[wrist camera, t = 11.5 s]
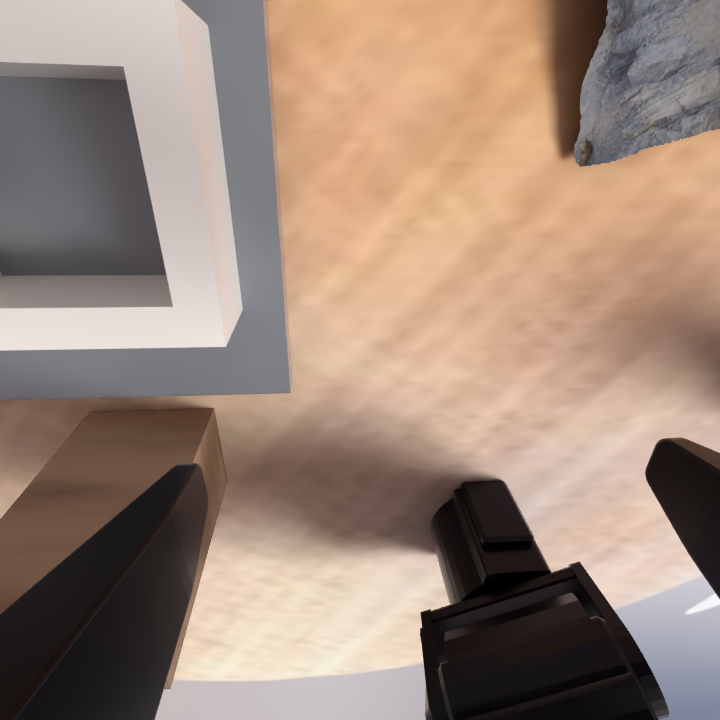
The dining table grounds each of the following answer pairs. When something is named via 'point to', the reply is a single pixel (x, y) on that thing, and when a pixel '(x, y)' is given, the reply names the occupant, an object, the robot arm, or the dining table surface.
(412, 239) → the dining table surface
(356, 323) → the dining table surface
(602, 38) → the grey flat stone bar
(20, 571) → the wooden block
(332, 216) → the dining table surface
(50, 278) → the square frame on plate
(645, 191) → the dining table surface
